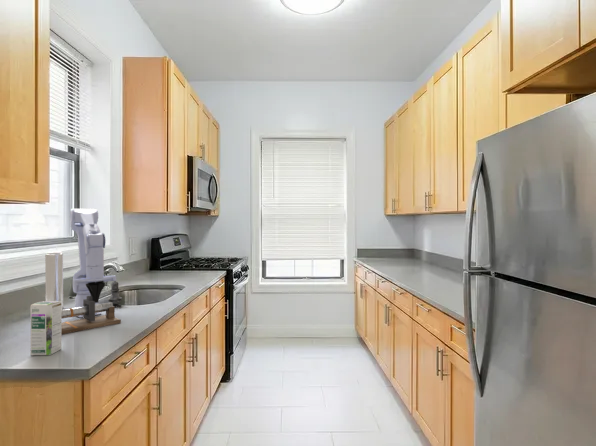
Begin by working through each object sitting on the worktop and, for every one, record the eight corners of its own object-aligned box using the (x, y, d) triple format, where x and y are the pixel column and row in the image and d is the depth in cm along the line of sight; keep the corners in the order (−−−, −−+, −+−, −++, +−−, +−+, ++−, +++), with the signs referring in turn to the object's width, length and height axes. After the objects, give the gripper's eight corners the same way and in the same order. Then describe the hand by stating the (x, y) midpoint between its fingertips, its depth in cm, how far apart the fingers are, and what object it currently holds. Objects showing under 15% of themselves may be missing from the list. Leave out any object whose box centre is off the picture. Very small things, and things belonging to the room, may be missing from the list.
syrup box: (29, 356, 108) (29, 304, 108) (43, 349, 114) (42, 300, 114) (49, 355, 108) (49, 304, 108) (62, 348, 114) (62, 300, 114)
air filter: (53, 307, 170) (53, 251, 170) (66, 307, 169) (66, 251, 169) (42, 310, 164) (41, 252, 164) (55, 311, 163) (55, 252, 163)
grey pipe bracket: (83, 318, 142) (83, 295, 142) (88, 317, 143) (87, 294, 143) (90, 321, 138) (90, 297, 138) (94, 320, 139) (94, 297, 139)
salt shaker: (116, 308, 168) (116, 280, 168) (104, 307, 169) (104, 280, 169) (125, 305, 174) (124, 278, 174) (113, 304, 175) (113, 278, 175)
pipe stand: (43, 329, 135) (43, 309, 135) (108, 317, 151) (108, 299, 151) (53, 335, 127) (52, 314, 127) (120, 322, 143) (120, 303, 143)
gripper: (77, 268, 134) (77, 307, 134) (119, 264, 145) (119, 300, 145) (70, 266, 139) (70, 304, 139) (112, 263, 149) (112, 298, 149)
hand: (95, 302), depth 142 cm, fingers closed
